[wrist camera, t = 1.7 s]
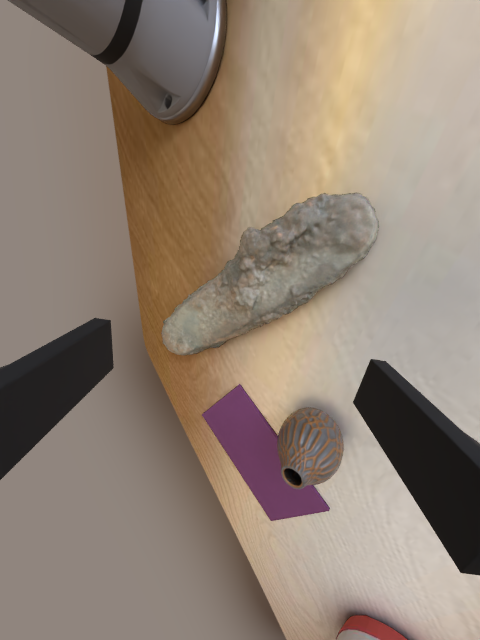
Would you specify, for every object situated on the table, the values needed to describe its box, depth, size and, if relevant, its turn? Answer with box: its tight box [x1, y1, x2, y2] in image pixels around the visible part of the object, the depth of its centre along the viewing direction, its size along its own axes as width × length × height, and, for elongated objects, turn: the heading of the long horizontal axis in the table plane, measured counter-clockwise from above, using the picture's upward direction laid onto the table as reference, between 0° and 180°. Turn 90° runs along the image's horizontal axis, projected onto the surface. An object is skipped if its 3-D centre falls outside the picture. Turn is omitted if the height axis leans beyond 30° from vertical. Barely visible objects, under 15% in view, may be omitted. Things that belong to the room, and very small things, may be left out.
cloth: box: [202, 384, 330, 521], centre depth 35 cm, size 20×12×1 cm, turn 48°
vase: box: [277, 408, 343, 489], centre depth 25 cm, size 7×7×9 cm
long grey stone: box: [161, 193, 379, 355], centre depth 29 cm, size 35×5×10 cm
